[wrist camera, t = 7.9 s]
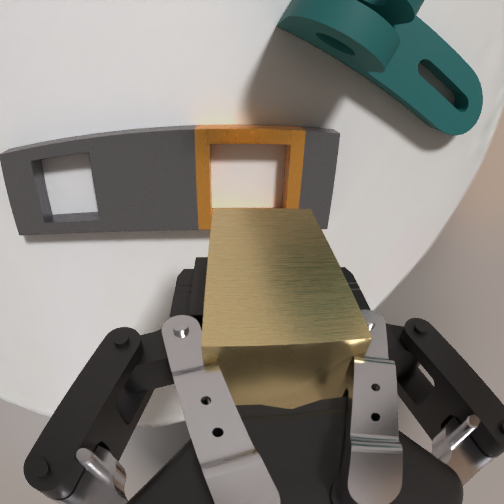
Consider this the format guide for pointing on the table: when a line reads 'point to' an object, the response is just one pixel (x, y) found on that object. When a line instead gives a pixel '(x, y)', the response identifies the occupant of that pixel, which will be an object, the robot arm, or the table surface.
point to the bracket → (392, 54)
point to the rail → (163, 176)
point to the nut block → (278, 308)
